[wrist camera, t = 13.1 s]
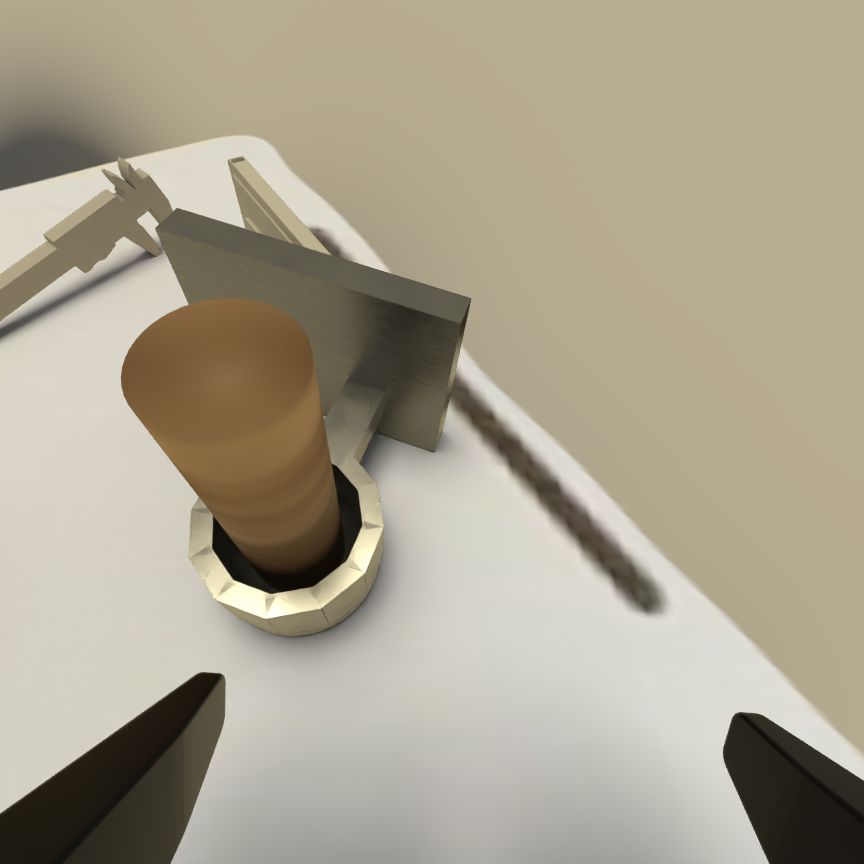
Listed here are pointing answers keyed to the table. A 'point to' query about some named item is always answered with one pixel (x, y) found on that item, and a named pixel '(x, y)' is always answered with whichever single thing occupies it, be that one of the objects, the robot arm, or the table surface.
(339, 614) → the cup bracket
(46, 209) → the table surface
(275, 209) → the cassette
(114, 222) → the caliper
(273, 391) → the rail post
